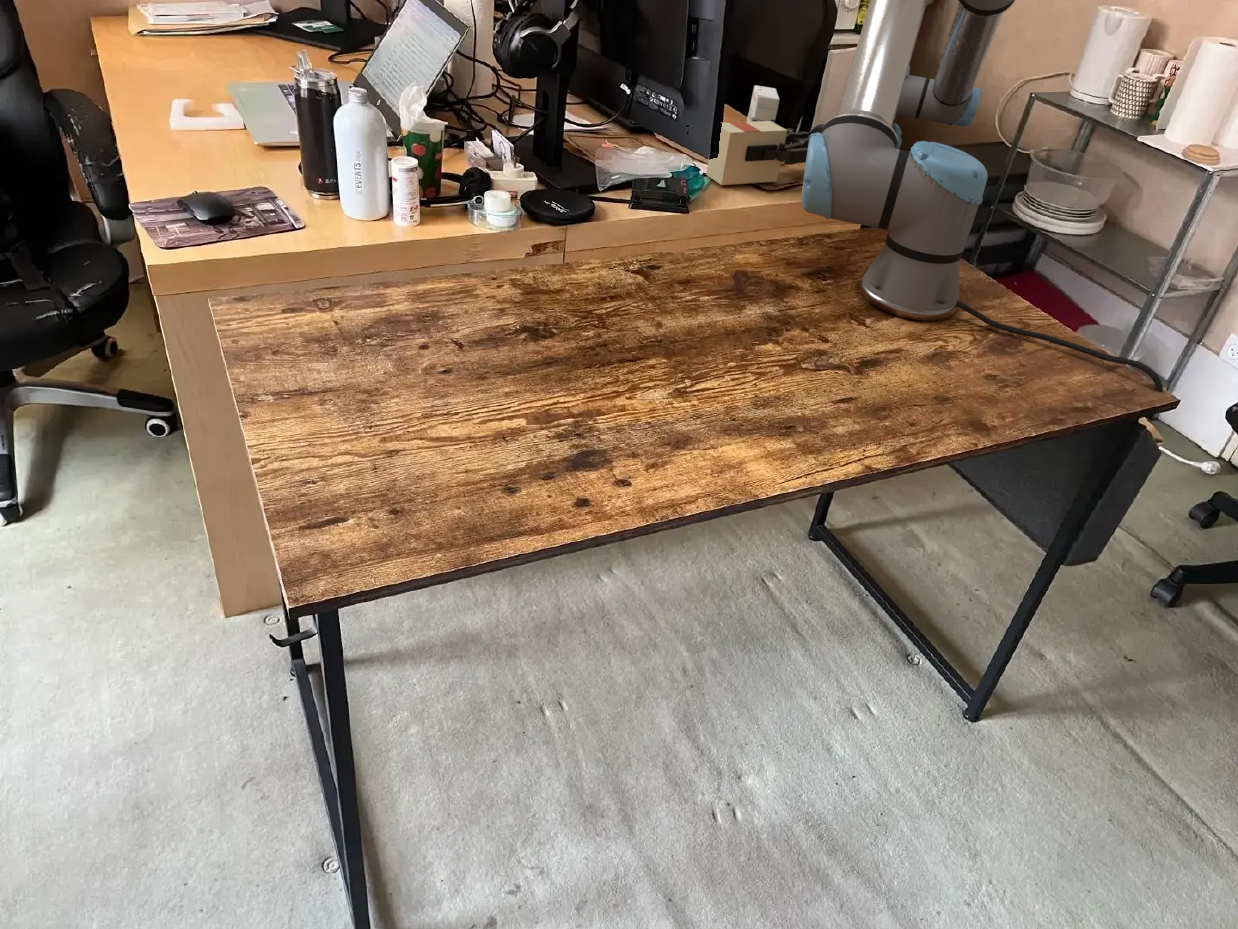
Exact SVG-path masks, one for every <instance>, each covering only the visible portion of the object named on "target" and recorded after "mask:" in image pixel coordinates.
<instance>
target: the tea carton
mask: <svg viewBox="0 0 1238 929" xmlns="http://www.w3.org/2000/svg"><path fill="white" fill-rule="evenodd" d="M721 123H722V127H721V133H720V141H719V154H718V157H717V158H713V159H711V160H709V159H708V160H707V166H706V172H705V175H706V176H707V177H709V178H710V179H711V180H713V181H715V182H716V183H718V184H719V185H721V186H729V185H744V184H745V185H746V184H758V183H773V182H774V183H775V182H778V178H779V173H780V169H781V163H782V161H778V160H776V159H775V160H763V161H745V156H746V151H747V146H757V145H777V146H778V147H777V149H779V144H780V143H783V144H785V140H786V135H787V130H786V129H787V128H784V127H782V126H780V125H779V124H777V123H776V122H775V123H773V122H771V121H757V122H747V121H728V122H721Z"/></svg>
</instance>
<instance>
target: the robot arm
mask: <svg viewBox="0 0 1238 929" xmlns="http://www.w3.org/2000/svg"><path fill="white" fill-rule="evenodd" d="M934 1H935V0H869V4H868V8H867V11H866V14H865V18H864V21H863V25H862V27H861V31H860V35H859V37H858V42H857V45H856V48H855V51H854V55H853V59H852V62H851V65H850V68H849V72H848V76H847V78H846V83H845V86H844V89H843V93H842V95H841V99H840V102H839V106H838V110H837V113H836V115H835V116H833V117H831V118H829V119H827V121H826V122H825V123H821V124H820V123H819V124H817V125H815V126H814V127H813V128H812V129H811V130H810V131H809V132H808V131H799V132H796V131H795V129H794V128H792V127H788V128H785V129H786V130H787V135H786V140H785V144H783V143H780V144H779V149H777V147H778V146H777V145H757V146H747V151H746V156H745V161H763V160H775V159H776V160H778V161H781V162H783V163H784V164H785V165H792V164H793V165H794V164H805V167H804V174H803V182H802V188H801V189H802V190H801V197H800V202H801V207H802V209H803V210H804V211H805V212H807V213H808V214H812V215H816V216H820V217H824V218H825V220H830V219H831V220H835V221H841V222H846V223H851V224H856V225H861V226H865V227H871V228H874V229H875V228H876V229H881V230H885V231H887V233H886V238H885V241H884V244H883V246H882V247H881V249H880V251H879V252H878V253H877V255H876V256H875V258H874V259H873V261H872V263H871V264H870V265H869V267H867V268H866V269H865V270H864V273H863V274H864V275H863V276H862V279H861V282H860V285H859V293H860V295H861V296H862V297H863V298H864V299H865V301H866V302H868V303H869V304H871V305H872V306H874V307H875V308H878V309H879V310H881V311H883V312H887V314H891V315H894V316H897V317H901V318H904V319H905V318H906V319H911V320H915V321H939V320H945V319H947V318H950V317H952V316H953V315H954V314H956V310H957V308H959V309H960V310H963V311H965V313H966V312H967V313H968V314H970V315H972V316H973V317H975V318H977V319H978V320H980V321H981V322H983V323H985V324H986V325H988V326H990V327H992V328H995V329H997V330H1001V331H1004V332H1006V333H1011V334H1016V335H1020V336H1025V337H1029V338H1033V339H1038V340H1041V341H1045V342H1048V343H1052V344H1056V345H1059V346H1061V347H1064V348H1067V349H1071V350H1074V351H1078V352H1080V353H1082V354H1086V355H1088V356H1091V357H1094V358H1097V359H1100V360H1103V361H1107V362H1111V363H1116V364H1121V365H1126V366H1130V367H1134V368H1137V369H1139V370H1141V371H1142V372H1144V373H1146V374H1147V376H1149V378H1150V379H1151V380H1152V382H1153V383H1154V388H1155V391H1156V392H1159V393H1163V392H1164V387H1163V382H1162V380H1161V378H1160V376H1159V375H1158V374H1157V372H1155V370H1153V369H1152V368H1151V367H1150V366H1148V365H1147V364H1145V363H1143V362H1140V361H1138V360H1134V359H1130V358H1126V357H1125V358H1124V357H1120V356H1115V355H1111V354H1107V353H1103V352H1101V351H1098V350H1095V349H1091V348H1089V347H1086V346H1084V345H1080V344H1077V343H1075V342H1072V341H1068V340H1065V339H1061V338H1058V337H1056V336H1052V335H1047V334H1045V333H1041V332H1036V331H1032V330H1028V329H1023V328H1022V329H1021V328H1019V327H1014V326H1011V325H1007V324H1003V323H1000V322H998V321H995V320H993V319H991V318H989V317H988V316H986V315H984V314H983V313H981V312H980V311H978V310H976V309H974V308H973V307H971V306H970V305H967V304H965V303H964V302H962V301H960V263H961V259H962V257H963V254H964V251H965V248H966V245H967V242H968V239H969V236H970V233H971V230H972V227H973V224H974V220H975V219H976V215H977V212H978V210H979V206H980V205H981V204H982V203H983V200H984V198H983V196H984V192H985V189H986V185H987V182H988V171H987V168H986V167H985V166H984V164H983V163H982V162H981V161H980V160H979V159H977V158H976V157H974V156H973V155H970V154H969V153H967V152H965V151H963V150H960V149H958V148H955V147H953V146H951V145H946V144H944V143H940V142H935V141H926V140H921V141H916V142H915V143H913V146H912V147H910V151H909V150H904V149H901V146H902V142H903V139H902V135H903V134H902V132H903V131H902V130H901V129H902V128H900V125H899V124H898V123H896V121H897V117H898V116H903V117H908V118H915V119H919V120H924V121H928V122H929V121H930V122H935V123H939V124H944V125H948V126H957V127H968V126H970V125H971V124H972V123H973V122H974V119H975V116H976V113H977V111H978V108H979V104H980V101H981V97H982V89H981V88H979V87H977V86H976V85H977V82H978V79H979V76H980V75H981V72H982V69H983V66H984V64H985V61H986V59H987V56H988V53H989V51H990V48H991V46H992V43H993V40H994V38H995V36H996V33H997V31H998V28H999V26H1000V23H1001V20H1002V17H1003V16H1004V13H1005V12H1007V11H1008V10H1009V9H1010V8H1011V7H1012V6H1013V5H1014V3H1015V2H1016V0H957V2H958V4H957V7H956V11H955V14H954V17H953V20H952V24H951V25H950V30H949V33H948V36H947V40H946V43H945V45H944V49H943V52H942V55H941V59H940V62H939V64H938V68H937V71H936V74H935V78H929V77H922V76H917V75H913V74H910V69H911V66H910V63H911V61H912V56H913V53H914V50H915V46H916V42H917V39H918V34H919V31H920V28H921V24H922V21H923V17H924V15H925V14H924V13H925V10H926V7H927V6H929V5H930V4H932V3H933V2H934ZM794 131H795V132H794Z"/></svg>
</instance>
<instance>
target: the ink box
mask: <svg viewBox="0 0 1238 929" xmlns="http://www.w3.org/2000/svg"><path fill="white" fill-rule="evenodd" d="M779 104H780V97H779V94H778V91H777V88H776V87H775V88H774V87H769V86H763V85H758V84H757V85H753V90H752V95H751V99H750V105H749V110H748V114H747V118H746V122H757V121H771V122H773V123H775V124H776V119H777V118H776V117H777V113H778V109H779Z"/></svg>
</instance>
